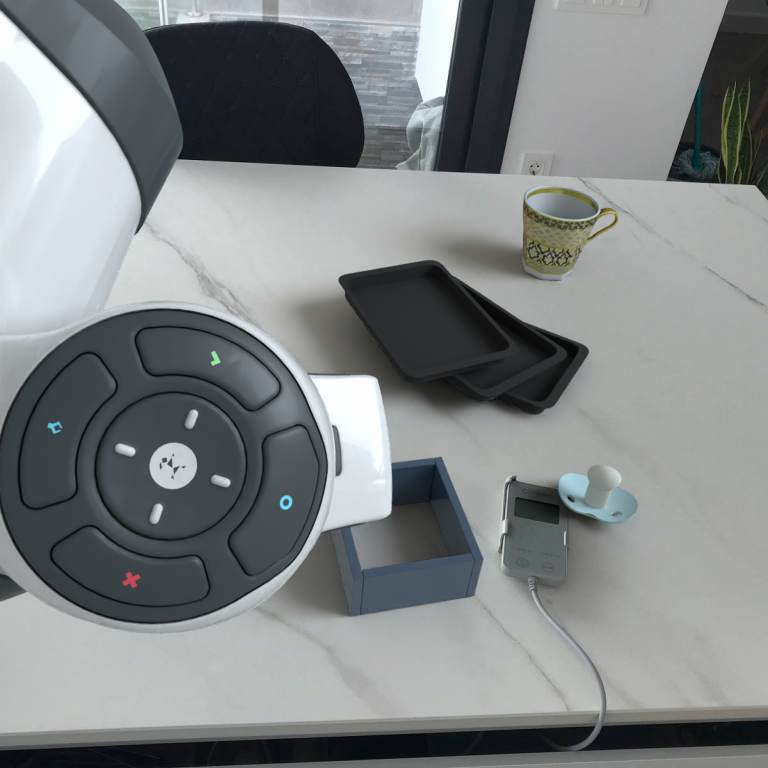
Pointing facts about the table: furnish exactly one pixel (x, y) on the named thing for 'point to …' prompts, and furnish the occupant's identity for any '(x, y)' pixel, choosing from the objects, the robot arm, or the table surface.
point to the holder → (420, 577)
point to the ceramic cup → (558, 229)
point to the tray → (460, 336)
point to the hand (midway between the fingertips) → (190, 466)
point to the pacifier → (598, 495)
